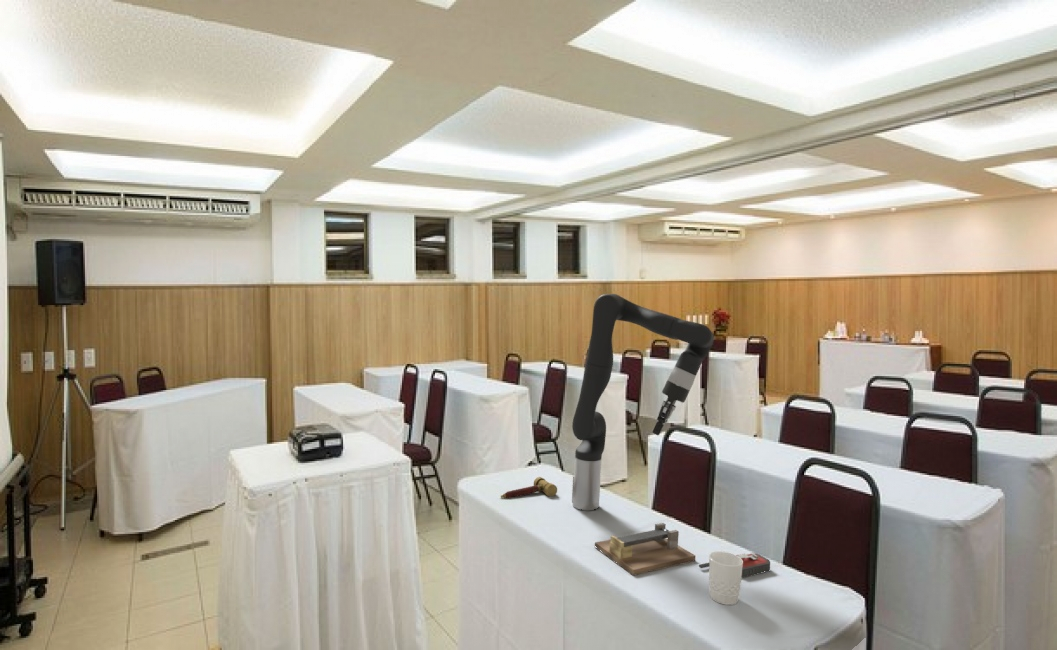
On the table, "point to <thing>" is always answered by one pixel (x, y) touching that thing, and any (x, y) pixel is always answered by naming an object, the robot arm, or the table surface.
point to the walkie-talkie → (750, 564)
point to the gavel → (533, 489)
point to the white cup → (725, 577)
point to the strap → (644, 537)
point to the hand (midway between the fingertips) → (655, 434)
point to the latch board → (647, 553)
